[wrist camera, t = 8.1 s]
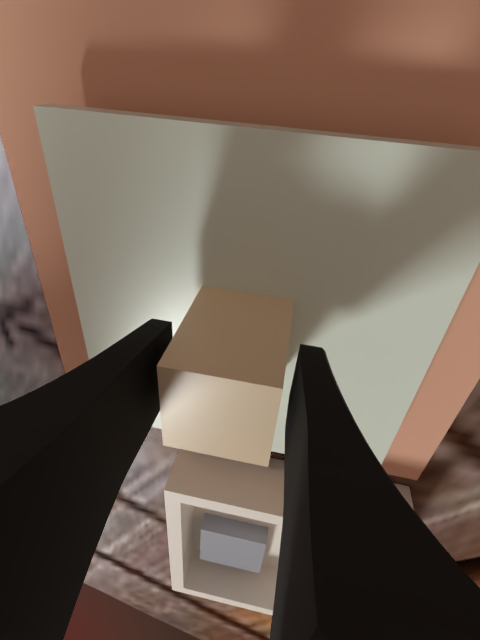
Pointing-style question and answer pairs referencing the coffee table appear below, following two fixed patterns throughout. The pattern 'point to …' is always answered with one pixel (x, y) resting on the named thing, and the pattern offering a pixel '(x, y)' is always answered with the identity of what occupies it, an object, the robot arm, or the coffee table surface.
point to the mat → (250, 116)
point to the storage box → (227, 528)
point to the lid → (263, 261)
